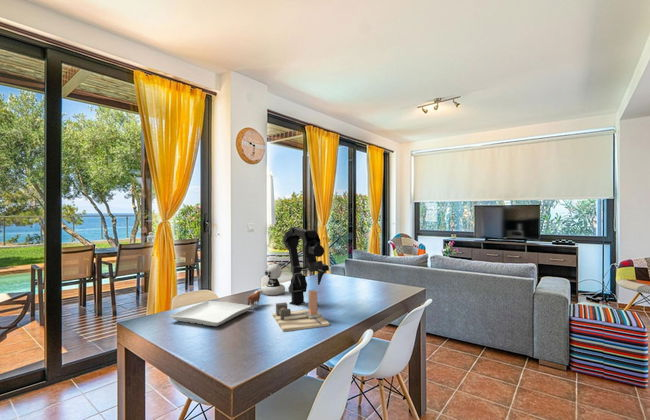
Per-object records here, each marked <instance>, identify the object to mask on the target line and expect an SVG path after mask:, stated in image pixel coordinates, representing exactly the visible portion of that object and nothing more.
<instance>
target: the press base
mask: <svg viewBox="0 0 650 420" xmlns="http://www.w3.org/2000/svg"><path fill="white" fill-rule="evenodd" d="M282 309H288V303H287V302H278V303H275V312H273V313H272V317H273V319H274V321H275V322H276V323H277V325H278V326H279V327H280V329H281V331H282V332H283V333H284V332H290V331H291V332H292V331H298V330H304V329H312V328H319V327H320V328H321V327H328V326H330V325H331V324H330V322H329V321H328V320H327V319H325V318H324V316H322V315H321V317H317V318H308V317H305V318H297V319H289V320H284V319H283V320H281V319H280V310H282ZM308 311H309V308H308V309H300V310H292V311H291V315H293V314H302V313H305V312H308Z"/></svg>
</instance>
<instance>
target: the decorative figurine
mask: <svg viewBox="0 0 650 420" xmlns="http://www.w3.org/2000/svg"><path fill="white" fill-rule="evenodd" d="M266 265H267V268H266V270H265V271H264V275H265V276H267V277H268V281H267V283H266V284H264V285H263V286H262V287H261V288H260V289H261V290H262V291H263V293H264V294H263V295H266V296H278V295H281V294H284V293H285V291H286V287H285V285H283V284H281V283H280V281H279V278H280V277H281V275H282V272H283V269H282V268H281V266H280V261H278V262H277V263H273V264H269V263H268V262H267V263H266Z"/></svg>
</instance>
